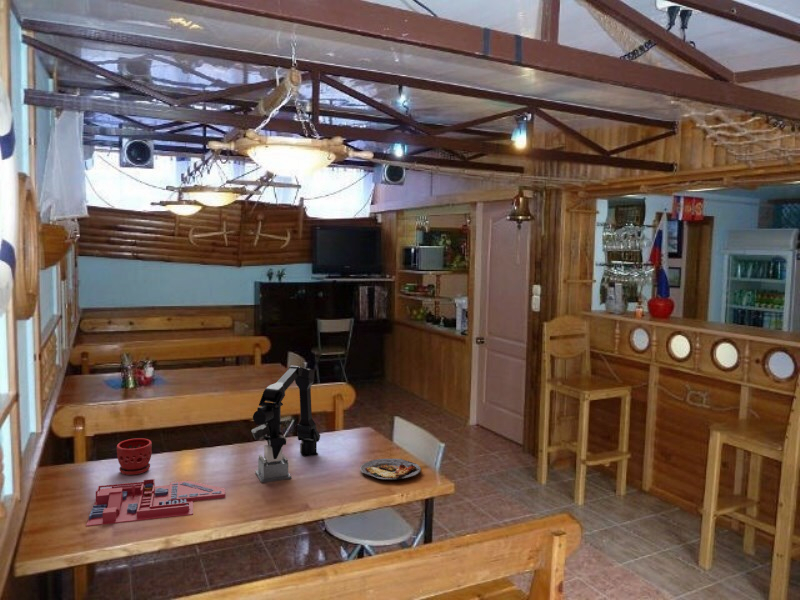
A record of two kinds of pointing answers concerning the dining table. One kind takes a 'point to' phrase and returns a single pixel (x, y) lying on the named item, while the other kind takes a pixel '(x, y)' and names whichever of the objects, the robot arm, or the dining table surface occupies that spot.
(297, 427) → the robot arm
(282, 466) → the motor housing
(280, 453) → the plain white cube
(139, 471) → the plant pot
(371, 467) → the food plate
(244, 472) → the dining table surface
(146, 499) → the red architectural model
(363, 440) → the dining table surface
